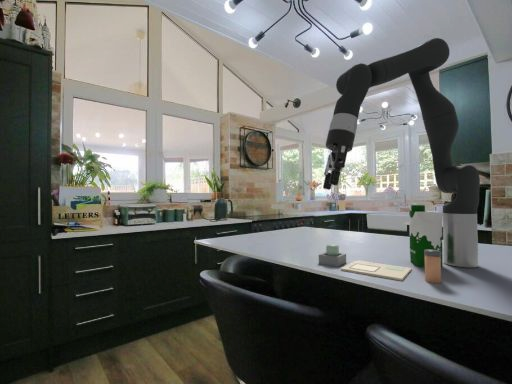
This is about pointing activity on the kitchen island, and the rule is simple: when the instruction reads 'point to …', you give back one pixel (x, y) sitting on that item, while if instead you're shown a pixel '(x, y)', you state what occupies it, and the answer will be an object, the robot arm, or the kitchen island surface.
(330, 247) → the button
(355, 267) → the sheet
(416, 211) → the milk carton
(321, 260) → the button base
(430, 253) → the orange jar
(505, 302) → the kitchen island surface
